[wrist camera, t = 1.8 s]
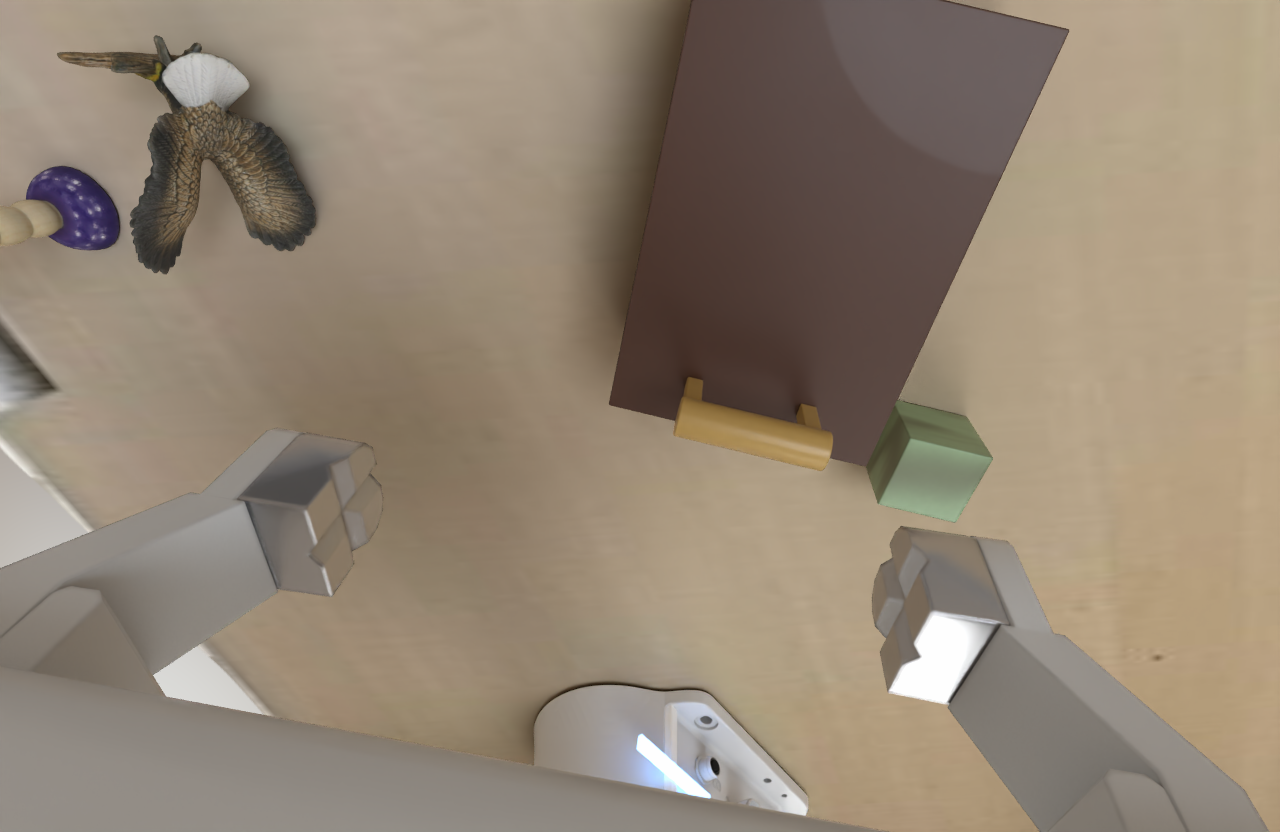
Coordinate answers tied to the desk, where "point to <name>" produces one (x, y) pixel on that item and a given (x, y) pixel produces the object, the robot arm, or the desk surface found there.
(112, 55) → the eagle figurine
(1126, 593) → the desk surface
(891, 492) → the block
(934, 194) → the box lid
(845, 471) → the desk surface
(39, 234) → the toy lamp
